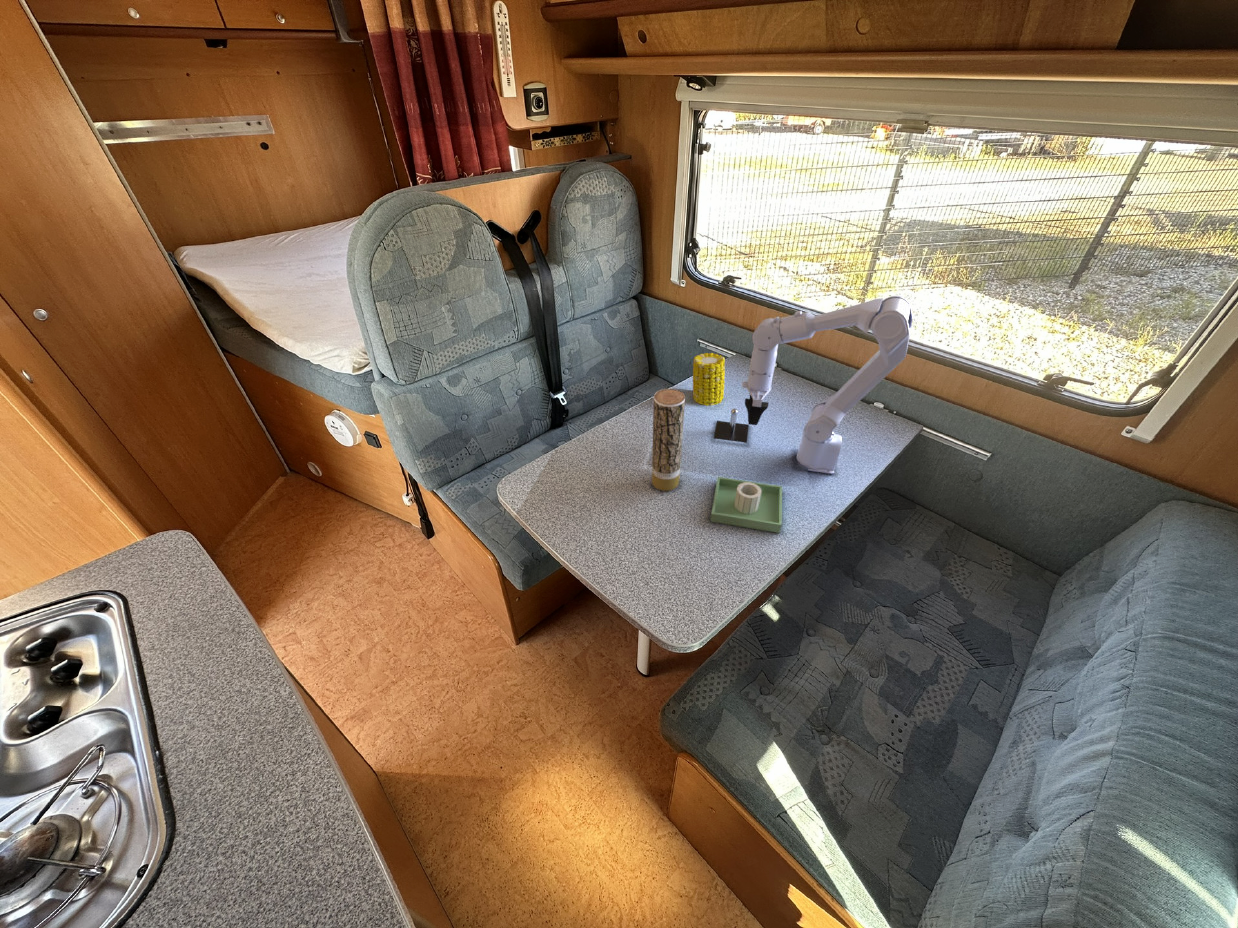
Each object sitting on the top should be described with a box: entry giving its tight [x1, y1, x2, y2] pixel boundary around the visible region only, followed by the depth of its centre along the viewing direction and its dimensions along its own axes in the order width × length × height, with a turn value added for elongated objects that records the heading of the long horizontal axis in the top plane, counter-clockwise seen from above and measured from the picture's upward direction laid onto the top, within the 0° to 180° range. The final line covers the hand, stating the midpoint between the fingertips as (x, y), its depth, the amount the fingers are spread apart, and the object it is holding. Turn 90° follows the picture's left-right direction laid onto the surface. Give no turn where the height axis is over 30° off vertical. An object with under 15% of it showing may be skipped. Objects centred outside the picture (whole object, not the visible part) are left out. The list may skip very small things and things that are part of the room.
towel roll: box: [734, 481, 761, 514], centre depth 113 cm, size 5×5×5 cm
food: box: [692, 352, 726, 407], centre depth 148 cm, size 15×12×10 cm
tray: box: [710, 476, 783, 534], centre depth 114 cm, size 15×13×2 cm
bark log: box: [651, 388, 686, 492], centre depth 115 cm, size 7×7×25 cm
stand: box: [713, 408, 750, 444], centre depth 136 cm, size 9×9×8 cm
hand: (753, 416), depth 128 cm, fingers open, 7 cm apart
